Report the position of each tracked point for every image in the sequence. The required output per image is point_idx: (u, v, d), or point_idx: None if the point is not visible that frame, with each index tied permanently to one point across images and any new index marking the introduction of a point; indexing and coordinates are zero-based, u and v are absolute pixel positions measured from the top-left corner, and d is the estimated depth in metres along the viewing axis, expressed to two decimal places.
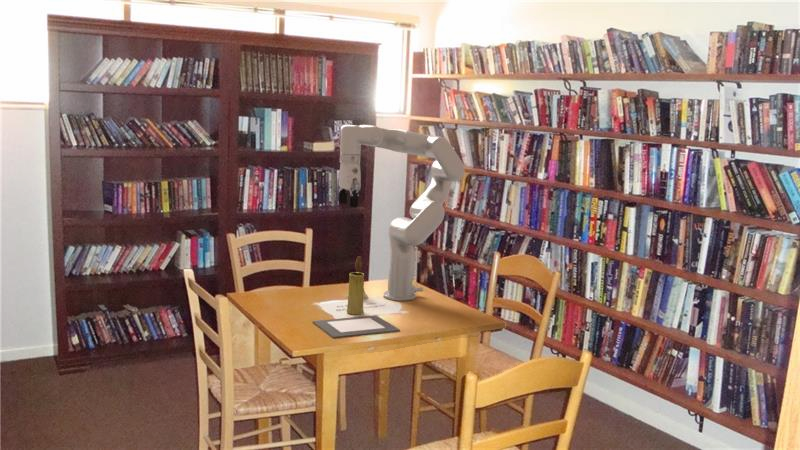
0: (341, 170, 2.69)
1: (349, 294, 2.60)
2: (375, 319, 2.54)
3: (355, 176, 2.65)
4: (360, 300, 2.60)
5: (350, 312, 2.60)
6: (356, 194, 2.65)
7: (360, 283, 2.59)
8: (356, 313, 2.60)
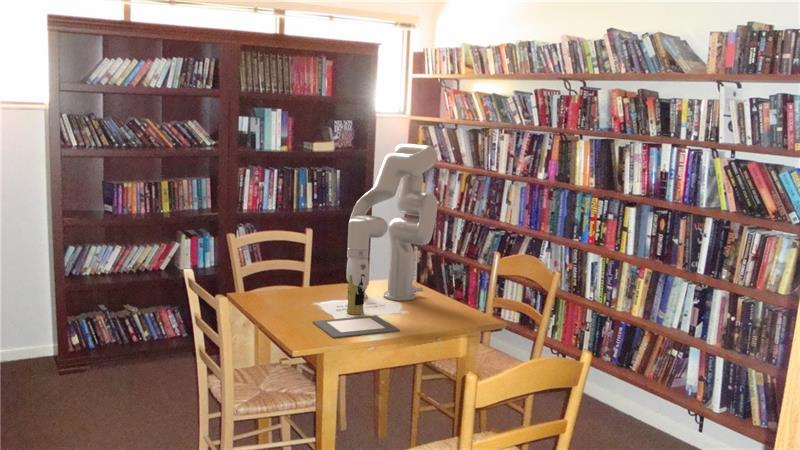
0: (349, 264, 2.60)
1: (349, 294, 2.60)
2: (375, 319, 2.54)
3: (363, 272, 2.56)
4: None
5: (350, 312, 2.60)
6: (362, 292, 2.57)
7: None
8: (356, 313, 2.60)
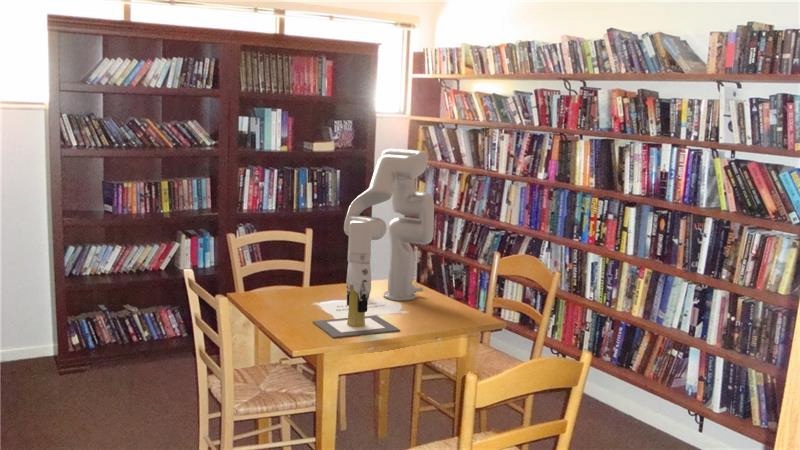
0: (350, 269, 2.42)
1: (350, 305, 2.43)
2: (375, 319, 2.54)
3: (365, 278, 2.38)
4: None
5: (351, 324, 2.43)
6: (365, 299, 2.38)
7: None
8: (357, 325, 2.43)
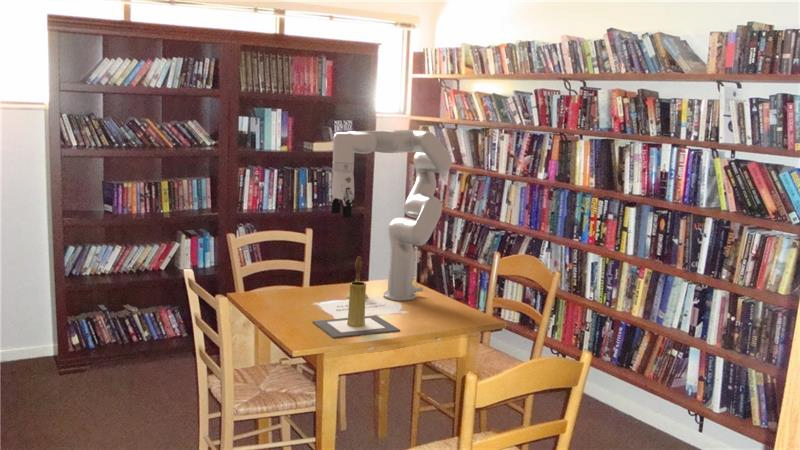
0: (334, 179, 2.60)
1: (350, 305, 2.43)
2: (375, 319, 2.54)
3: (348, 185, 2.56)
4: (361, 311, 2.43)
5: (351, 324, 2.43)
6: (349, 204, 2.55)
7: (361, 293, 2.42)
8: (357, 325, 2.43)
